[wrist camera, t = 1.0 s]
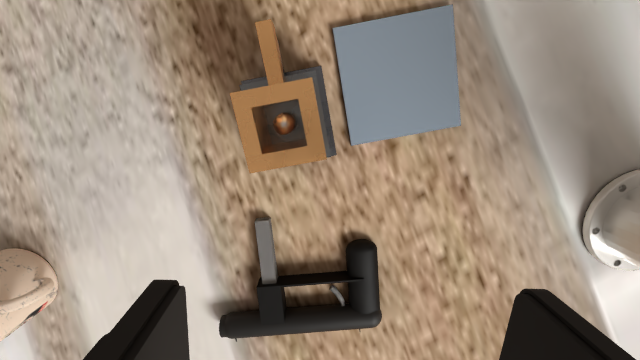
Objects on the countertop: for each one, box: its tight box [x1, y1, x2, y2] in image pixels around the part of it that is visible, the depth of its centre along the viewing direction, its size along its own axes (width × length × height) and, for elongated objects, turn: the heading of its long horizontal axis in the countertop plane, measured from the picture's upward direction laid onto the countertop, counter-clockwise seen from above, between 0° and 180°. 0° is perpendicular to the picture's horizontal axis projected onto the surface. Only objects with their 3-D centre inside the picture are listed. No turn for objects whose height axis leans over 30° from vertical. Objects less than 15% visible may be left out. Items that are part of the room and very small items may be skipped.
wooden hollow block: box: [230, 19, 327, 173], centre depth 25 cm, size 6×11×6 cm, turn 10°
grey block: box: [240, 39, 336, 157], centre depth 30 cm, size 8×13×8 cm, turn 10°
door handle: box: [219, 217, 382, 342], centre depth 38 cm, size 3×20×16 cm
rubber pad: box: [333, 4, 461, 146], centre depth 32 cm, size 12×12×1 cm
